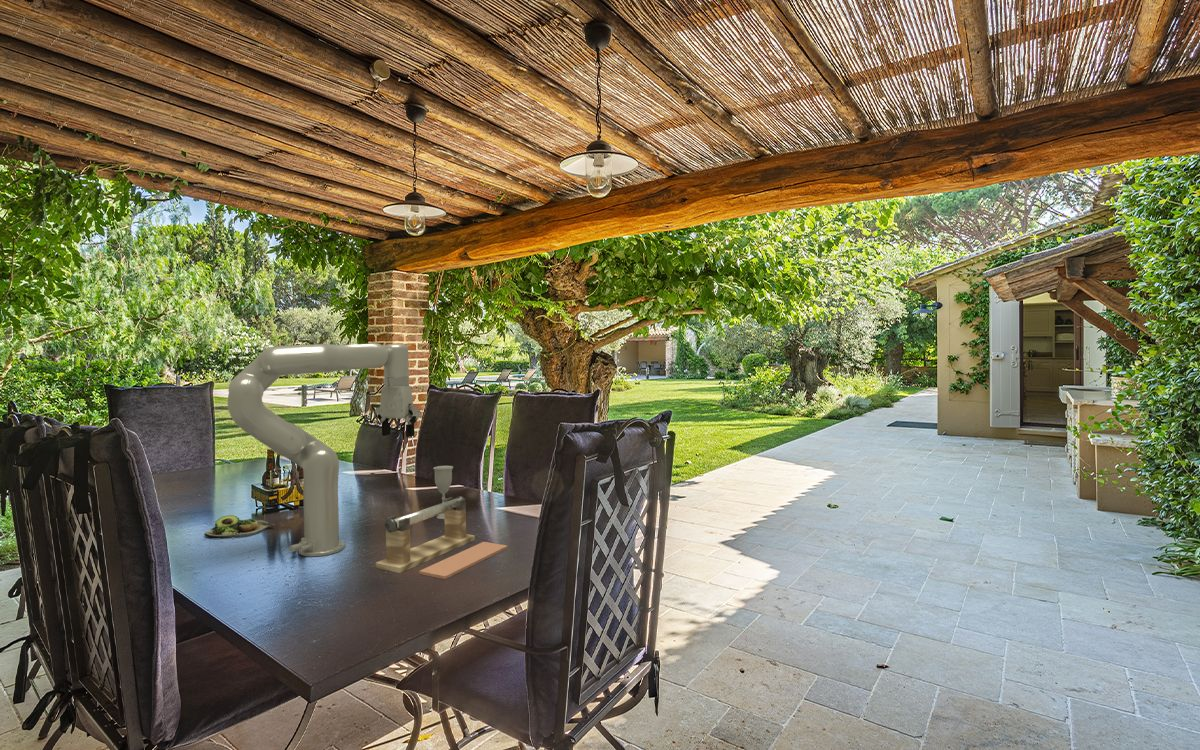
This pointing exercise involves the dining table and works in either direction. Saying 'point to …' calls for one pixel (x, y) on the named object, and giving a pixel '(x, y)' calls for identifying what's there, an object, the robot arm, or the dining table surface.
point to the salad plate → (236, 527)
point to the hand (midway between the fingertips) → (398, 435)
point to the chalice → (443, 481)
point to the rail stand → (406, 558)
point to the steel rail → (423, 514)
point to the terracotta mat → (463, 560)
